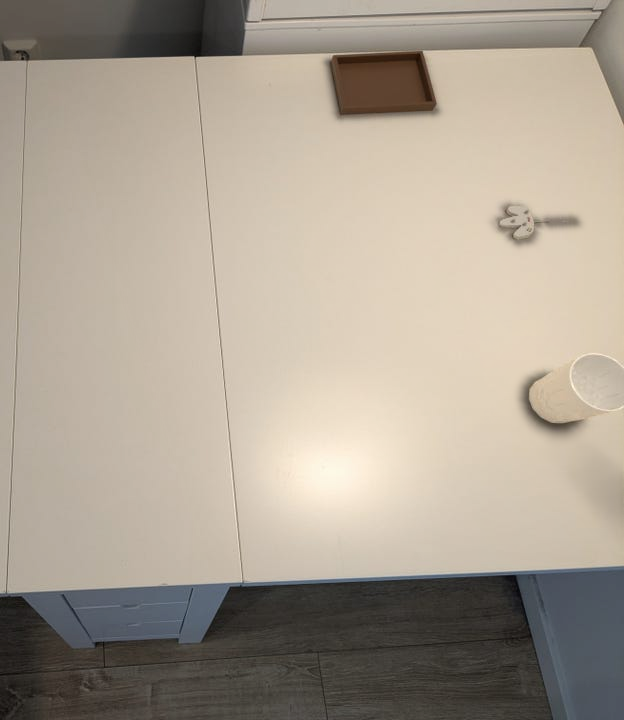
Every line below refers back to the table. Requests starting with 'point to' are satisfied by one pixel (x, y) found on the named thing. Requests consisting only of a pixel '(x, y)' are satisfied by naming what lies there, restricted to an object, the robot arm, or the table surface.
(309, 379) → the table surface
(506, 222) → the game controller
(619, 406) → the white cup
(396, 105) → the tray
